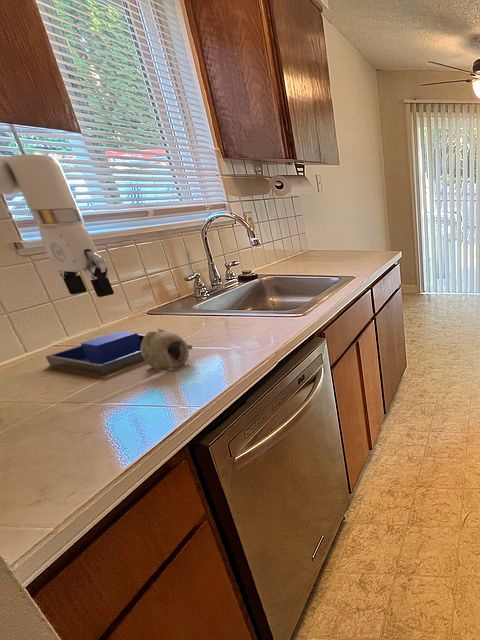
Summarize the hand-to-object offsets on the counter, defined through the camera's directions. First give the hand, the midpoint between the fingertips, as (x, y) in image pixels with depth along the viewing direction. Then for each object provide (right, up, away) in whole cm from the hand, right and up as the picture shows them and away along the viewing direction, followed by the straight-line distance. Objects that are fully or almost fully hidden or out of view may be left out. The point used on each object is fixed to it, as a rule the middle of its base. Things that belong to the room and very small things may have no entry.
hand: (92, 294), depth 94 cm
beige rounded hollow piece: (+17, -17, +3) cm, 24 cm away
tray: (-1, -15, +8) cm, 17 cm away
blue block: (-1, -15, +7) cm, 16 cm away
